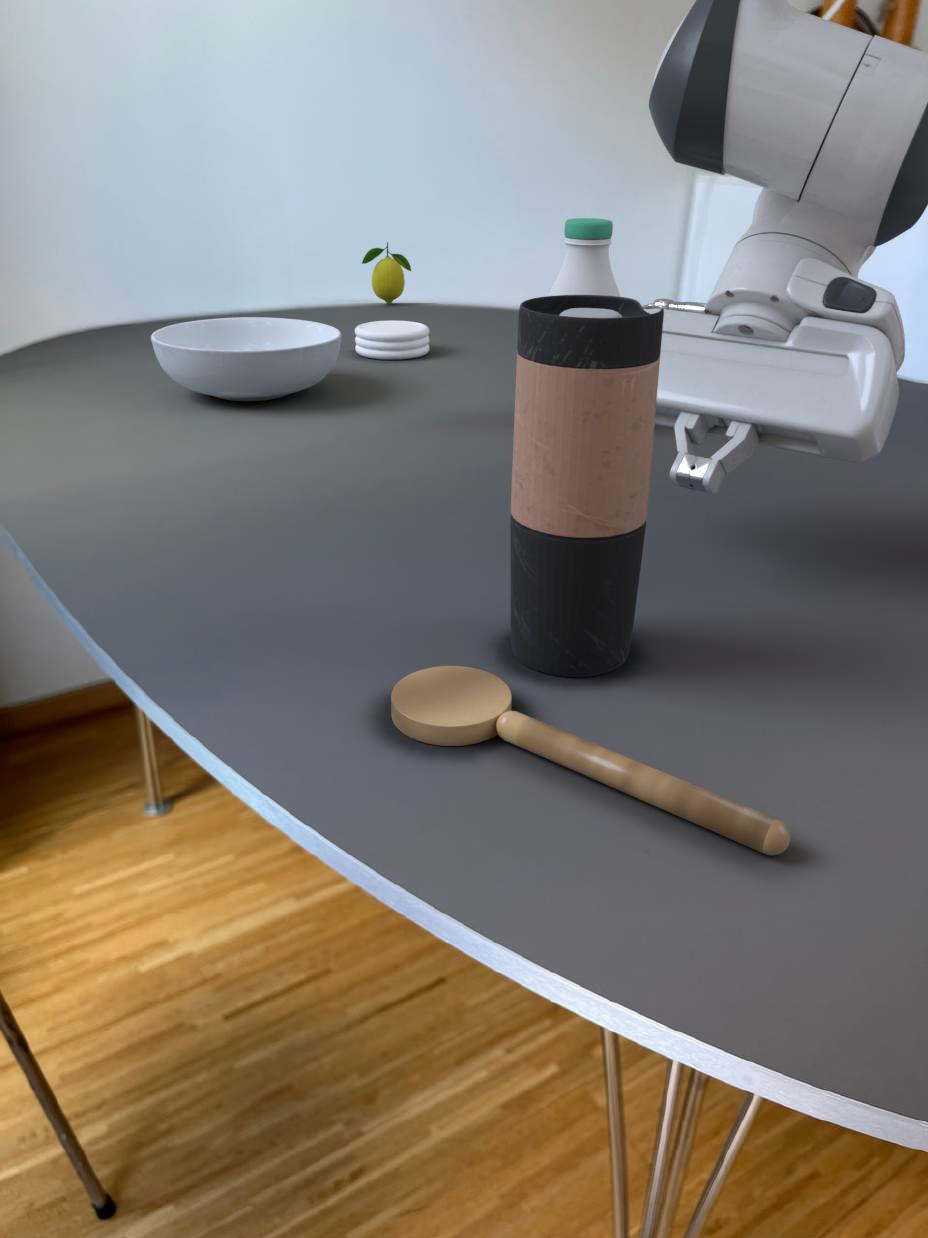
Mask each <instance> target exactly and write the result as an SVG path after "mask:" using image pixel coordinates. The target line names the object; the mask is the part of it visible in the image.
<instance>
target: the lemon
mask: <svg viewBox="0 0 928 1238" xmlns="http://www.w3.org/2000/svg"><path fill="white" fill-rule="evenodd" d="M385 250H386V256H385V257H384V258H382V259H380V260H379V261H378V262H377V263H376V265H374V268H373V270H372V275H371V287H372V291H373V293H374V294H375V296H376V297H377V298H379V299H381V300H383V301H384V302H385V303H386V304H387V305H391V304H392V303H393V301H395V300H396V299H398V298H399V297H401V295H402V294H403V292H404V289H405V285H406V282H405V280H406V279H405V274H404V270H403V269H405V270H407V271H408V272H412V267H411V264H410V261H409V260H408V259H407V257H405V256H404V254H402V253H401V254H400V253H391V252H390V251H389V241H387V242H386V247H384V248H380V247H374V248H371V249H369V250H368V251H367V252H365V253H366V254H365V255H364V257H363V259H362V262H361V265H365V264H368V263H370V262H372V261H374V260H375V259H376V258H378V257H379V256H380V255H381V254H382V253H383V252H384V251H385ZM389 254H390V255H389Z"/></svg>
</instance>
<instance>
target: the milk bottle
mask: <svg viewBox="0 0 928 1238" xmlns="http://www.w3.org/2000/svg"><path fill="white" fill-rule="evenodd" d="M613 227H614V224H613V221H612V220H610V219H607V218H595V217H594V218H591V217H588V218H587V217H580V218H579V217H577V218H569V219H566V220H565V222H564V231H563V232H564V233H563V235H564V240H563V243H564V244H565V254H564V258H563V261H562V264H561V267H560V269H559V272H558V274H557V276H556V279H555V280H554V282H553V285H552V287H551V289H550V292H549V295H548V296H557V295H604V296H618V297H621V295H620V291H619V288H618V285H617V281H616V279H615V276H614V273H613V270H612V266H611V265H612V264H611V261H610V254H609V253H610V252H609V251H610V246H611V244H612V237H613V231H614V230H613V229H614V228H613Z"/></svg>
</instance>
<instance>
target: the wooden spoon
mask: <svg viewBox="0 0 928 1238" xmlns="http://www.w3.org/2000/svg"><path fill="white" fill-rule="evenodd" d="M512 703H513V695H512V691H511V689H510V687H509V685H508V684H507V683H506V681H504V680H503V679H501V678H500V677H499V676H497V675H496V674H493V673H491V672H489V671H486V670H483V669H480V668H477V667H476V668H475V667H470V666H462V665H440V666H432V667H426V668H423V669H420V670H417V671H414V672H412V673H409V674H408V675H406V676H404V677H402V678H401V679H400V680H399V681H397V683H395V684H394V686H393V688H392V689H391V693H390V704H391V705H390V707H391V709H390V711H391V712H390V714H391V720H392V722H393V725H394V726H395V727H396V728H397V730H398V731H399V732H401V733H402V734H404V735H405V736H406V737H409V738H410V739H412V740H415V741H418V742H421V743H424V744H429V745H433V746H440V747H441V746H442V747H461V746H462V747H463V746H470V745H476V744H479V743H482V742H486V741H488V740H490V739H493V738H495V737H497V735H498V737H500V738H501V739H502V740H503V741H504V742H507V743H509V744H512V745H514V746H516V747H518V748H520V749H523V750H526V751H528V752H530V753H532V754H534V755H537V756H539V757H541V758H544V759H547V760H548V761H551V762H553V763H556V764H558V765H560V766H562V767H564V768H567V769H569V770H571V771H573V772H576V773H578V774H581V775H583V776H585V777H588V778H589V779H592V780H595V781H597V782H599V783H601V784H604V785H605V786H608V787H611V788H613V789H615V790H617V791H619V792H622V793H624V794H627V795H628V796H631V797H634V798H635V799H638V800H640V801H642V802H645V803H647V804H649V805H652V806H654V807H656V808H658V809H661V810H663V811H666V812H668V813H670V814H672V815H674V816H677V817H679V818H680V819H681V818H682V819H684V820H685V821H688V822H691V823H693V824H695V825H698V826H700V827H702V828H704V829H707V830H709V831H711V832H713V833H716V834H717V835H720V836H723V837H725V838H727V839H730V840H732V841H734V842H737V843H739V844H741V845H744V846H746V847H748V848H749V849H753V850H754V851H757V852H759V853H761V854H764V855H767V856H777V855H781V854H782V853H784V852H785V851H786V850H787V849H788V847H789V846H790V843H791V839H792V838H791V832H790V828H789V827H788V825H786V824H785V823H784V822H783V821H782V820H780V819H778V818H776V817H774V816H771V815H769V814H766V813H764V812H761V811H759V810H757V809H755V808H752V807H750V806H747V805H745V804H742V803H740V802H737V801H735V800H733V799H730V798H728V797H725V796H724V795H720V794H718V793H715V792H713V791H711V790H708V789H706V788H703V787H701V786H699V785H696V784H694V783H692V782H689V781H686V780H684V779H682V778H679V777H677V776H675V775H672V774H669V773H667V772H665V771H662V770H660V769H657V768H655V767H653V766H650V765H649V764H645V763H643V762H640V761H638V760H636V759H633V758H631V757H628V756H627V755H624V754H621V753H619V752H616V751H614V750H612V749H609V748H606V747H604V746H602V745H600V744H597V743H595V742H592V741H590V740H587V739H584V738H582V737H581V736H577V735H575V734H573V733H570V732H567V731H565V730H562V729H560V728H558V727H556V726H553V725H551V724H549V723H546V722H544V721H541V720H539V719H536V718H534V717H532V716H529V715H526V714H524V713H522V712H519V711H517V710H512V709H513V708H512V707H513V706H512V705H513V704H512Z"/></svg>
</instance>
